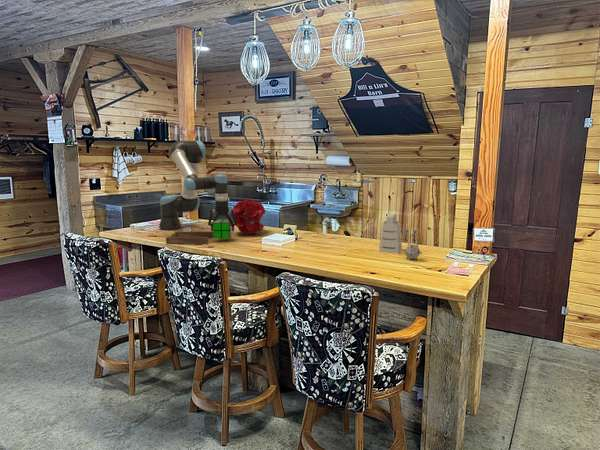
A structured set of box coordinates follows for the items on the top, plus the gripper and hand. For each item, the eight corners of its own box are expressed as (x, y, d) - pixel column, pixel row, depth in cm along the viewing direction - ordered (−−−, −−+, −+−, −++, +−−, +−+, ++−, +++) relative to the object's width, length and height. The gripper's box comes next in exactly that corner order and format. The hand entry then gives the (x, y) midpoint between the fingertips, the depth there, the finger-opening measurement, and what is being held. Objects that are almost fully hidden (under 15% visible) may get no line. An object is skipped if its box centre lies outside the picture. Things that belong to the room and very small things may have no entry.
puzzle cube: (232, 235, 268) (232, 219, 266) (229, 238, 258) (229, 222, 256) (216, 235, 268) (215, 219, 266) (213, 238, 258) (212, 222, 256)
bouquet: (241, 238, 300) (221, 224, 273) (251, 207, 306) (232, 190, 280) (269, 243, 292) (251, 228, 265) (278, 211, 298) (261, 194, 272)
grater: (402, 249, 237) (403, 213, 233) (398, 253, 228) (399, 216, 224) (383, 247, 241) (384, 212, 238) (378, 251, 232) (379, 215, 228)
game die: (407, 266, 217) (399, 248, 221) (423, 259, 217) (414, 242, 221) (410, 261, 209) (401, 243, 212) (426, 255, 209) (417, 237, 213)
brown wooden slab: (175, 237, 272) (175, 231, 272) (214, 237, 272) (214, 231, 271) (166, 244, 254) (165, 238, 253) (207, 244, 253) (207, 237, 253)
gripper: (201, 201, 255) (203, 237, 259) (239, 201, 254) (240, 237, 259) (204, 199, 262) (205, 235, 266) (241, 199, 262) (242, 235, 266)
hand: (223, 236), depth 262 cm, fingers closed on puzzle cube, 10 cm apart
